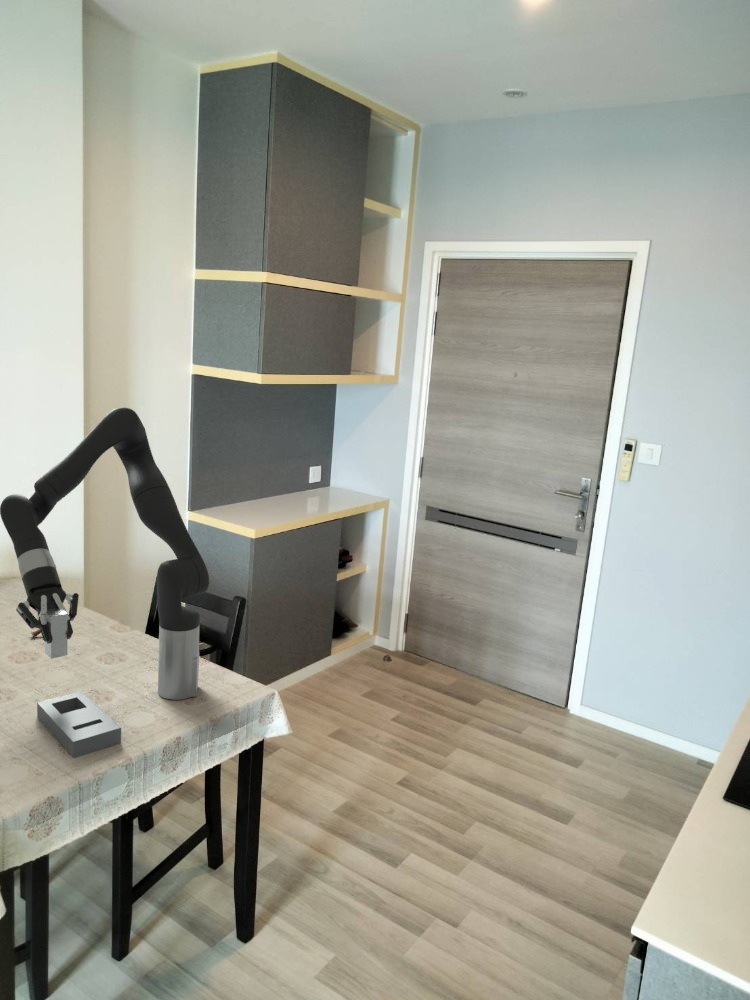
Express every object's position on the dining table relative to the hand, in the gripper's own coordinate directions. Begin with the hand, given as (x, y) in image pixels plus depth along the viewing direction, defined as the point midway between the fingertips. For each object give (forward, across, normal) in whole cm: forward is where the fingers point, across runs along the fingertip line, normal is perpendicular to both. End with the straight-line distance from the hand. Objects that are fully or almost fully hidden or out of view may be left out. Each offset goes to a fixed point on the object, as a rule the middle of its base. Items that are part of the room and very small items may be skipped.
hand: (59, 639), depth 169 cm
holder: (+20, +1, -2) cm, 20 cm away
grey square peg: (+2, 0, -4) cm, 5 cm away
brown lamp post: (-17, -12, -40) cm, 46 cm away
